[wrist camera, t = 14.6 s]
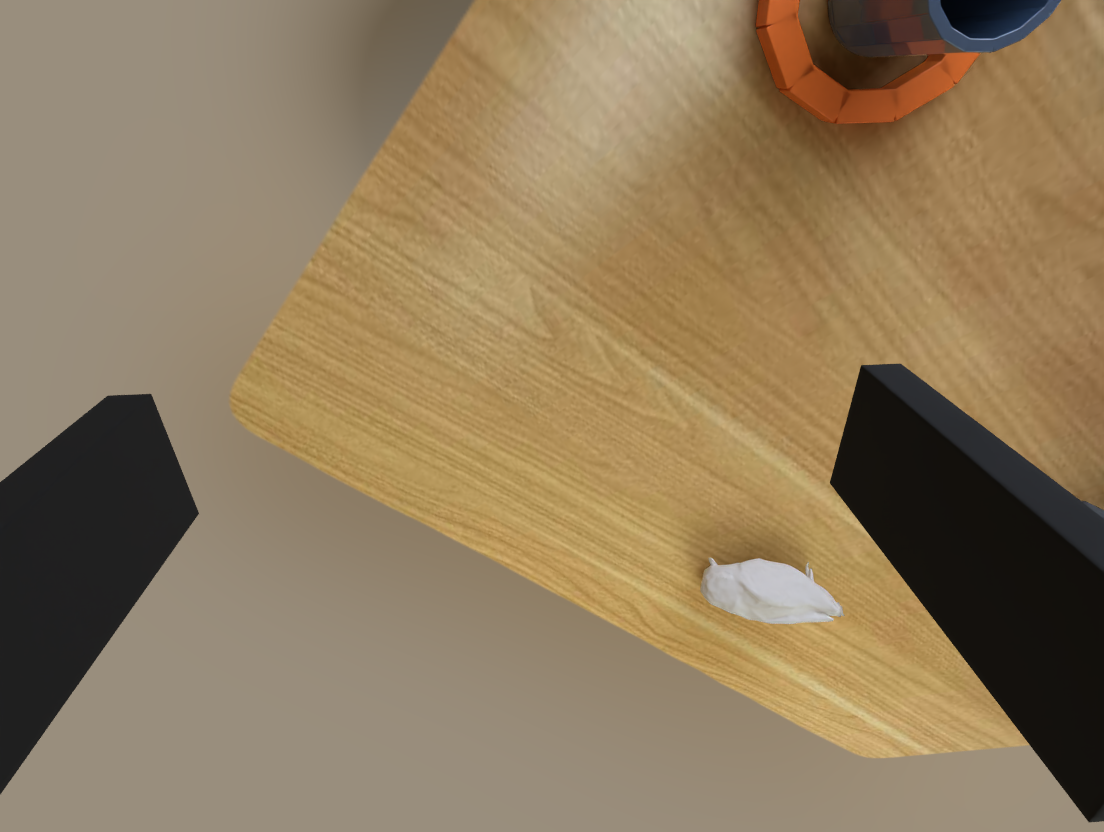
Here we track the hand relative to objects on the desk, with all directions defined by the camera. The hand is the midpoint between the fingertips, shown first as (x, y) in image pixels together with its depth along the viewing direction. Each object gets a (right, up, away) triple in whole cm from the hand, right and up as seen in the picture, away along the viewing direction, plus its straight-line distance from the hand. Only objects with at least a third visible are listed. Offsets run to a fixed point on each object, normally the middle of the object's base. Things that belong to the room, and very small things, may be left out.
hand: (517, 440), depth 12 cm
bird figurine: (+18, -13, +40) cm, 46 cm away
